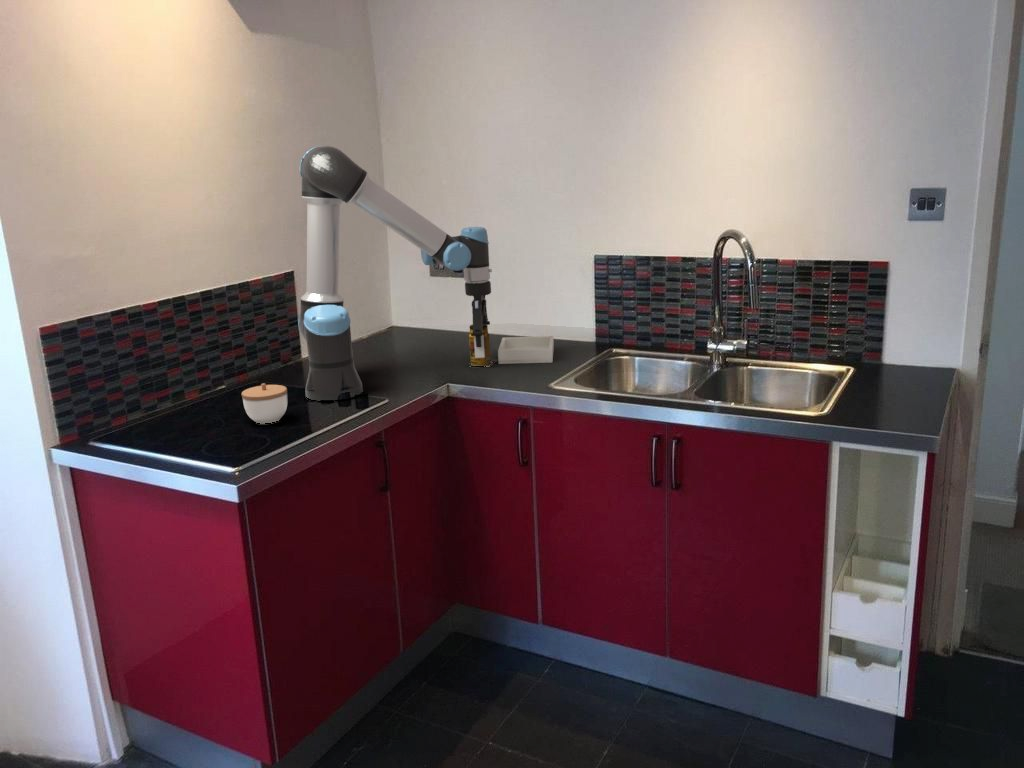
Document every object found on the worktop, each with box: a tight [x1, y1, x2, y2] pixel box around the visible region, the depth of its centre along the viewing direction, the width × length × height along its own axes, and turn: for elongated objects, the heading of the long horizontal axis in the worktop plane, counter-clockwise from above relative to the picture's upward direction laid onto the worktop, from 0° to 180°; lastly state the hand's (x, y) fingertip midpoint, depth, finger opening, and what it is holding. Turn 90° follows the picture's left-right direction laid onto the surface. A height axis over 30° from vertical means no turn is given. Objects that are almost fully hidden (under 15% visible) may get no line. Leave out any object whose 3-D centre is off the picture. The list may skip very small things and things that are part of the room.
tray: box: [497, 335, 555, 365], centre depth 272 cm, size 16×18×4 cm
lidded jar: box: [241, 382, 288, 425], centre depth 219 cm, size 11×11×9 cm
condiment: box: [468, 323, 498, 368], centre depth 265 cm, size 7×8×12 cm
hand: (482, 352), depth 265 cm, fingers open, 13 cm apart
